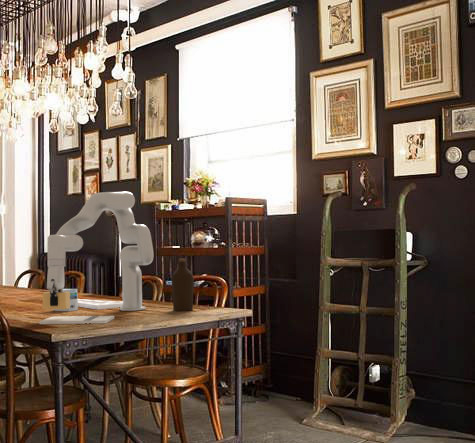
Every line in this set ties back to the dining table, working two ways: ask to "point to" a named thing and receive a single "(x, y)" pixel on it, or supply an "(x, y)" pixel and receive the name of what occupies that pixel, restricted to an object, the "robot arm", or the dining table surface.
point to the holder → (99, 304)
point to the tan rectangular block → (62, 300)
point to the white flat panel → (76, 319)
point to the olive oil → (182, 288)
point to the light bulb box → (71, 300)
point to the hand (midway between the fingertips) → (56, 304)
